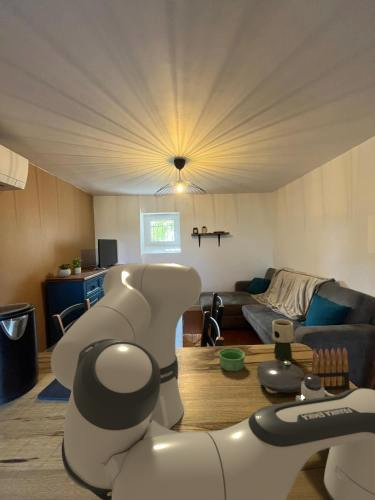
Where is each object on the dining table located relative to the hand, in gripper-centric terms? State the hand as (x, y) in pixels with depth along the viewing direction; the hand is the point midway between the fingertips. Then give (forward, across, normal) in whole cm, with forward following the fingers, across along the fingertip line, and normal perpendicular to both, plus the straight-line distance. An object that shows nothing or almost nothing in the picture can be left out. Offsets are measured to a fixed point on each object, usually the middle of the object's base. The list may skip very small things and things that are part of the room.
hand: (309, 395), depth 62 cm
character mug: (+29, +12, -6) cm, 32 cm away
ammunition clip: (+9, +14, -6) cm, 18 cm away
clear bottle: (-1, 0, -6) cm, 6 cm away
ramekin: (+29, -8, -6) cm, 31 cm away
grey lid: (+14, +1, -6) cm, 15 cm away
